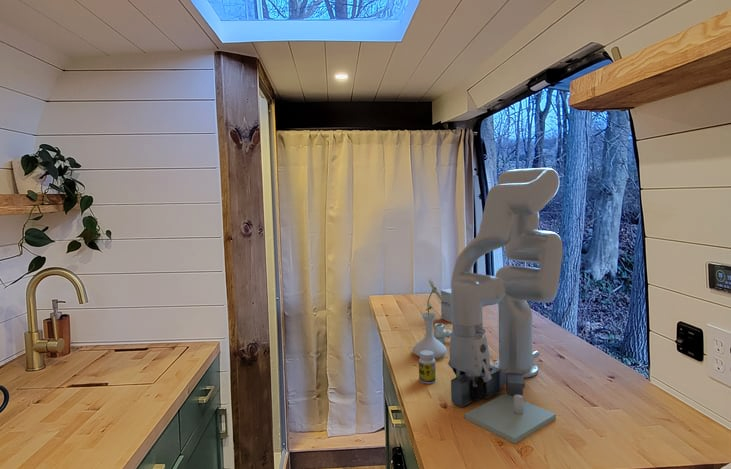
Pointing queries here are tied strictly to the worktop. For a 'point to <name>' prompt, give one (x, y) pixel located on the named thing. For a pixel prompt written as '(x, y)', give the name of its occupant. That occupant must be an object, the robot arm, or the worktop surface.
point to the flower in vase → (430, 332)
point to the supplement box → (446, 305)
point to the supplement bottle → (427, 367)
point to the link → (464, 383)
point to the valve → (441, 332)
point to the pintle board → (511, 413)
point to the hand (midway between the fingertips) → (469, 395)
